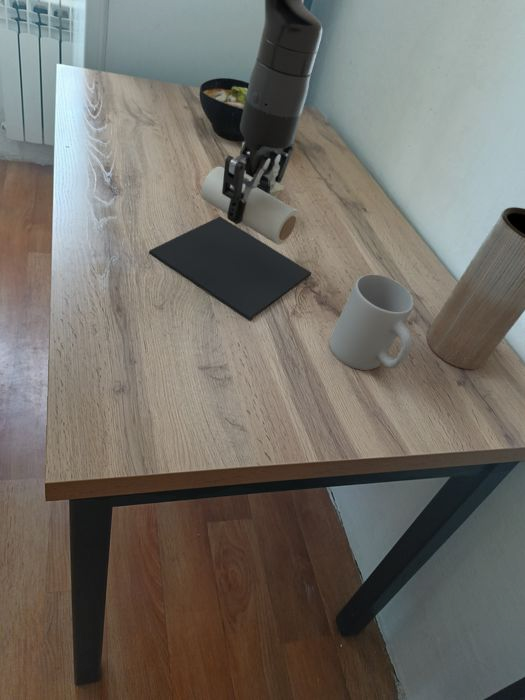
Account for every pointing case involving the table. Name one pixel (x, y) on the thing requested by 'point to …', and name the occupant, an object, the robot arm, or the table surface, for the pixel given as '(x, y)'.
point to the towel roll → (254, 208)
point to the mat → (231, 266)
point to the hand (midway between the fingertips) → (246, 214)
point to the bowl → (224, 105)
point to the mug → (373, 324)
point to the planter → (484, 296)
